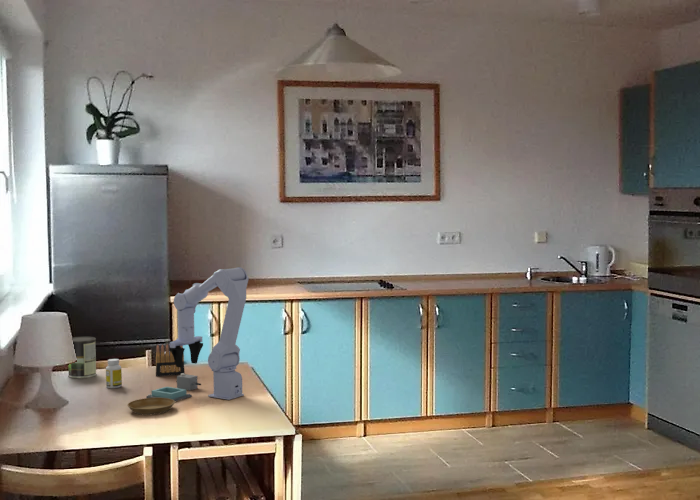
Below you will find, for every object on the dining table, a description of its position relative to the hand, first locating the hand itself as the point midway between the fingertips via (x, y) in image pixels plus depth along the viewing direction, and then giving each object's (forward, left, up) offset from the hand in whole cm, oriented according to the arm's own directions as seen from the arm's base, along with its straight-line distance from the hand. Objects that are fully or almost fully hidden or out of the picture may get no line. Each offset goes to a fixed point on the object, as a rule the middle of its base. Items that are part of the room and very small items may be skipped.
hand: (186, 365), depth 302 cm
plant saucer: (-12, +29, -9) cm, 32 cm away
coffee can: (+49, +5, -8) cm, 50 cm away
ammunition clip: (+21, -13, -8) cm, 26 cm away
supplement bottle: (+24, +12, -8) cm, 28 cm away
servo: (-1, 0, -8) cm, 8 cm away
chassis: (-4, +13, -8) cm, 16 cm away
